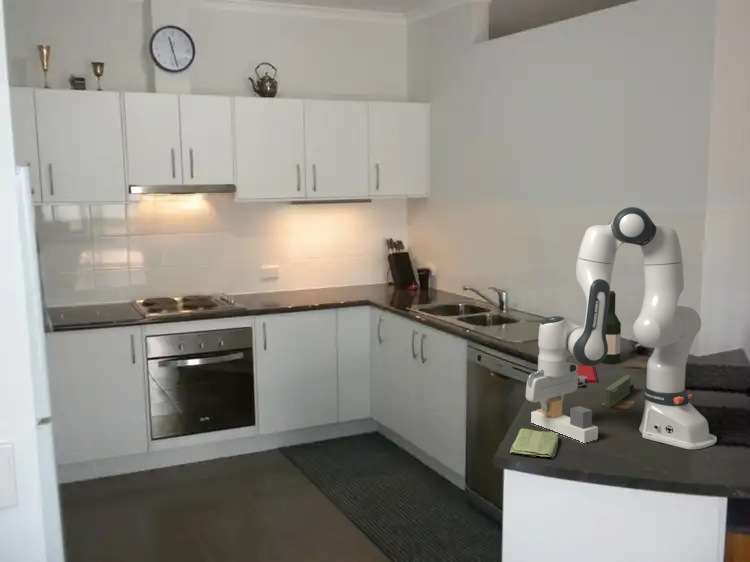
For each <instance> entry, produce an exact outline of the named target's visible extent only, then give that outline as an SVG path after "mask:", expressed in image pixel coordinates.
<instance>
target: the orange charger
mask: <svg viewBox="0 0 750 562" xmlns="http://www.w3.org/2000/svg"><path fill="white" fill-rule="evenodd" d="M546 404H547V406H549V412H543V411H542V409H541V408H540V409H541V414H543V415H546V416H549V417H552V418H555V417H558V416H562V415H563V401H562V400H560V399H557V397H553V398H549V399H547V402H546Z"/></svg>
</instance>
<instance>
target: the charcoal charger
mask: <svg viewBox="0 0 750 562" xmlns="http://www.w3.org/2000/svg"><path fill="white" fill-rule="evenodd" d="M569 411H570V413H569V415H570V416H569V417H570V424H571V425H574V426H577V427H579V428H582V429H584V428H587V427H590V426H592V425H593V421H592V420H593V410H592V409H590V408H586V407H584V406H581V405H578V406H574V407H571V408H570V409H569Z"/></svg>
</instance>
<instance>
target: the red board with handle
mask: <svg viewBox="0 0 750 562" xmlns="http://www.w3.org/2000/svg"><path fill="white" fill-rule="evenodd" d="M577 365H578V370H577V371H576V372H577V373H578V387H583V388H584V387H586V386H587V385H586V383H592V384H597V383H598V378H597V372H596V369H595V366H585V365H583V364H577Z"/></svg>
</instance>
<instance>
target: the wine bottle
mask: <svg viewBox="0 0 750 562" xmlns="http://www.w3.org/2000/svg"><path fill="white" fill-rule="evenodd" d="M621 329H622V324H621V322H620V319H619V318H618V316H617V315H616V292H615V291H614V290H610V297H609V307H608V316H607V324H606V340H607V344H608V353H607V356H606V357H605V359H604V360H603V361H602V362H601V363H602V364H605V365H618V364H620V362H621V334H622V333H621ZM601 363H600V364H601Z"/></svg>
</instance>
